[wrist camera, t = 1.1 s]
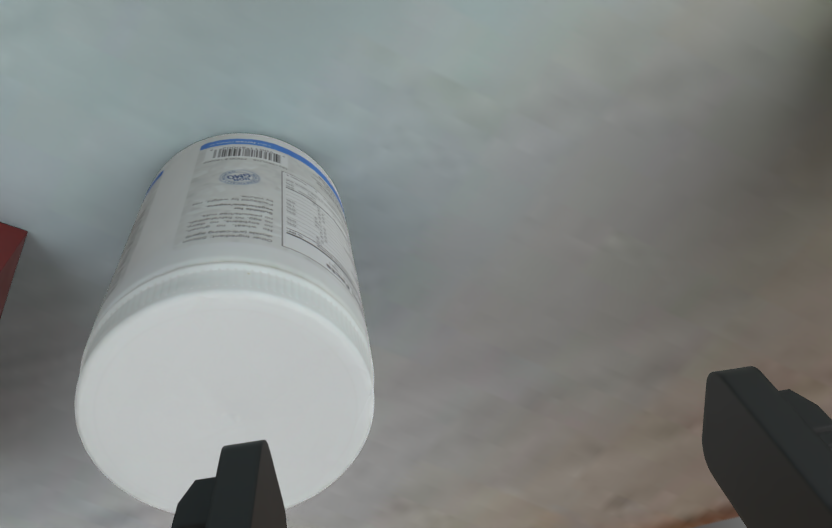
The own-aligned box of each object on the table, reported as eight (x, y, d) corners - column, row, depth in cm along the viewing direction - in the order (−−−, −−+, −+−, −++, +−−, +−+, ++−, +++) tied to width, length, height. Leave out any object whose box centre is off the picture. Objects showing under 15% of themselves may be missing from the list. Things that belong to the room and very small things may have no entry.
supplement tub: (237, 335, 39) (213, 569, 26) (99, 206, 34) (-11, 415, 22) (385, 231, 37) (436, 427, 25) (260, 82, 33) (244, 229, 20)
